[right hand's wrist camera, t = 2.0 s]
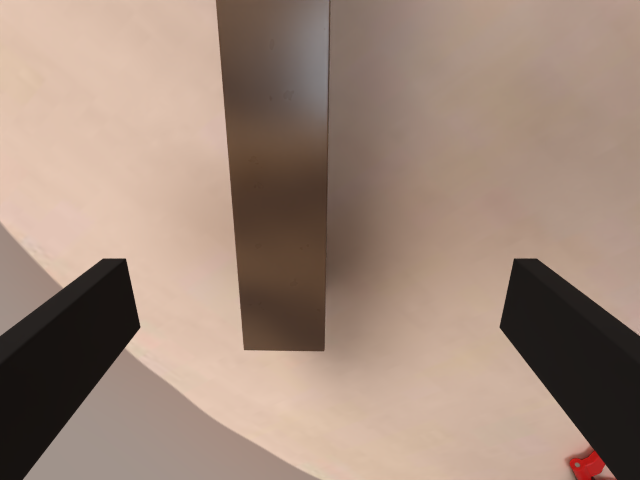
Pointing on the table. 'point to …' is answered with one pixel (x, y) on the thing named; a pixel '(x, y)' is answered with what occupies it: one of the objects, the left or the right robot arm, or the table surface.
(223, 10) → the beam
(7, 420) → the right robot arm
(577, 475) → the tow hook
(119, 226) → the table surface
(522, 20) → the table surface
